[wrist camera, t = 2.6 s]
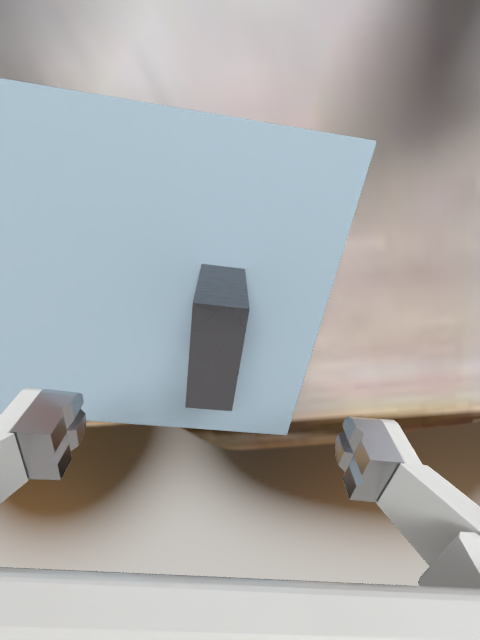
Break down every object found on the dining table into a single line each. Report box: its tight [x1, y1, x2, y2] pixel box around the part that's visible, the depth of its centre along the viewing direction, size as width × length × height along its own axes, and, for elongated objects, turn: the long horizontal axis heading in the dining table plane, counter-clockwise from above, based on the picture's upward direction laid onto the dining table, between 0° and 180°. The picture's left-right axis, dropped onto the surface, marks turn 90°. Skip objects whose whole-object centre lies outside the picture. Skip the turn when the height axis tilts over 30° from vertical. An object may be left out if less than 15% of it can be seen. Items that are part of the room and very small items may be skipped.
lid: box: [0, 78, 377, 435], centre depth 14 cm, size 19×17×5 cm
